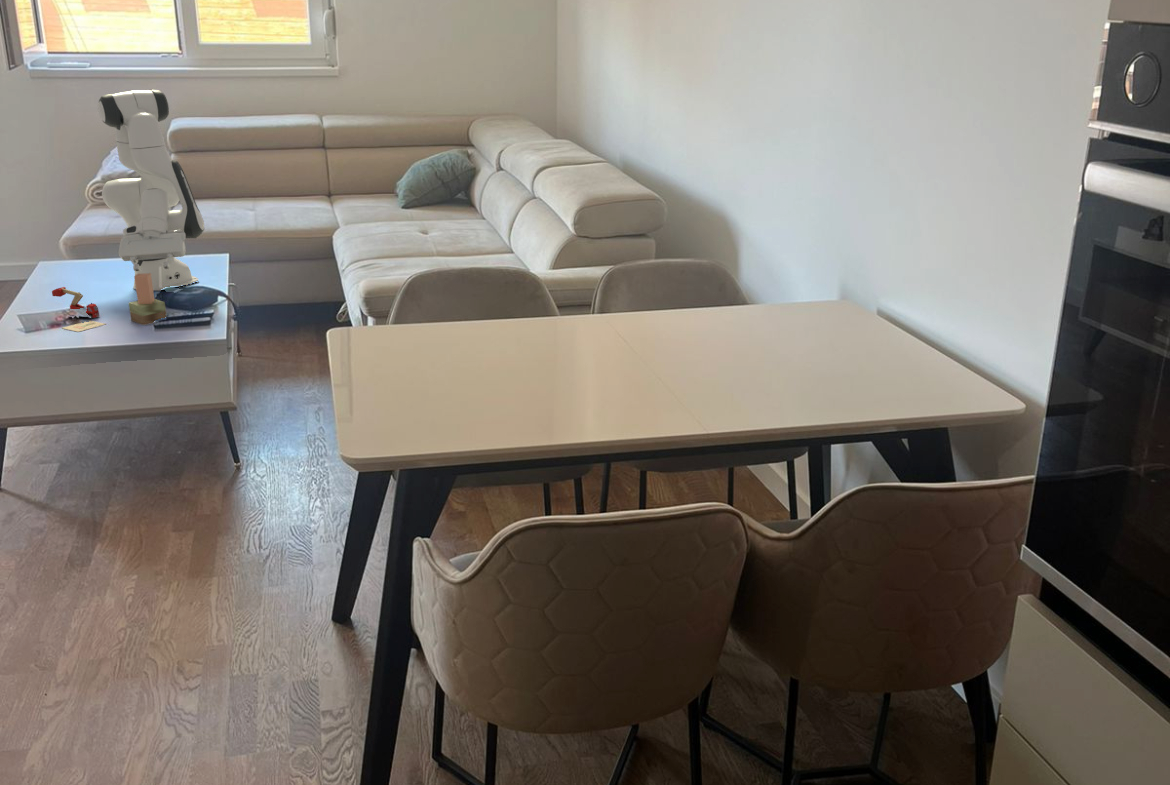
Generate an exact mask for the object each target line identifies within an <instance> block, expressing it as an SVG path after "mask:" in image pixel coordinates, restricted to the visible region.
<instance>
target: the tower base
mask: <svg viewBox="0 0 1170 785" xmlns="http://www.w3.org/2000/svg"><path fill="white" fill-rule="evenodd" d="M154 300H155V301H154V302H153V303H151V304H138V300H134V301H130V302H128V309H129V316H130V321H131V322H133V323H137V324H138V325H139V324H140V325H142V326H146V325H151V324H154V323H153V322H154V321H155V320H158V319H161V318H165V317H167V316H168V315H167V310H166V303H165V301H162V300H160V299H157V298H154ZM167 318H168V317H167Z"/></svg>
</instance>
